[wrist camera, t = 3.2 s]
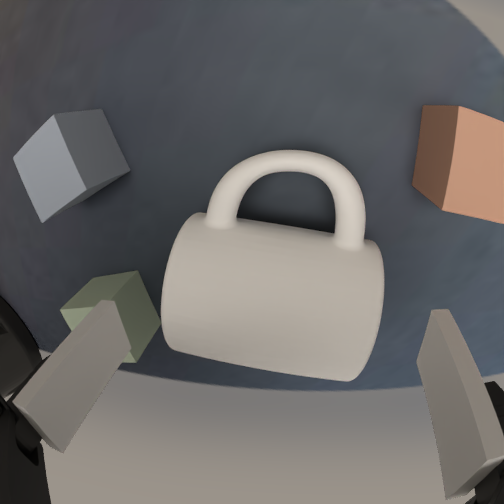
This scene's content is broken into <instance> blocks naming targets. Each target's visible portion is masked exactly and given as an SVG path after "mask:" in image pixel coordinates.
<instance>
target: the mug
mask: <svg viewBox="0 0 504 504" xmlns="http://www.w3.org/2000/svg"><path fill="white" fill-rule="evenodd" d="M282 171H294V172H303V173H308V174H311V175H314V176H316V177H318V178H320V179H321V180H322V181H324V182H325V183H326V185H327V186H328V187H329V189H330V191H331V193H332V196H333V199H334V203H335V212H336V223H335V233H328V232H323V231H317V230H311V229H305V228H299V227H293V226H287V225H280V224H274V223H268V222H262V221H255V220H249V219H242V218H236V216H237V212H238V208H239V205H240V202H241V200H242V198H243V196H244V194H245V192H246V191H247V189H248V188H249V187H250V186H251V184H252V183H254V182H255V181H256V180H257V179H259V178H260V177H262V176H264V175H267V174H270V173H274V172H282ZM365 221H366V215H365V204H364V199H363V195H362V192H361V189H360V187H359V185H358V183H357V181H356V179H355V178H354V177H353V175H352V174H351V173H350V172H349V171H348V170H347V169H346V168H345V167H344V166H343V165H341V164H340V163H339V162H337V161H335V160H334V159H332V158H329V157H327V156H325V155H322V154H318V153H314V152H310V151H302V150H278V151H271V152H266V153H262V154H258V155H255V156H252V157H250V158H248V159H246V160H244V161H242V162H240V163H238V164H237V165H235V166H234V167H233V168H232V169H230V170H229V171H228V172H227V173H226V174H225V175H224V176H223V177H222V179H221V180H220V181H219V183H218V184H217V186H216V188H215V190H214V192H213V194H212V197H211V199H210V202H209V206H208V209H207V213H201V212H200V213H195V214H193V215H192V216H190V217H189V218H188V219H187V221H186V222H185V223H184V224H183V226H182V228H181V229H180V231H179V233H178V235H177V237H176V239H175V242H174V244H173V247H172V250H171V253H170V256H169V259H168V263H167V267H166V271H165V276H164V281H163V288H162V298H161V323H162V330H163V334H164V337H165V340H166V342H167V344H168V345H169V347H170V348H172V349H173V350H175V351H179V352H183V353H187V354H192V355H196V356H200V357H204V358H209V359H213V360H218V361H222V362H227V363H232V364H237V365H242V366H247V367H252V368H258V369H263V370H269V371H275V372H281V373H287V374H294V375H300V376H307V377H315V378H322V379H330V380H339V381H351V380H353V379H354V378H356V377H357V376H358V375H359V374H360V372H361V371H362V370H363V368H364V366H365V365H366V363H367V361H368V359H369V357H370V354H371V352H372V349H373V346H374V343H375V340H376V337H377V333H378V329H379V325H380V320H381V314H382V308H383V299H384V267H383V260H382V256H381V252H380V250H379V248H378V246H377V244H376V243H375V242H374V241H372V240H368V239H364V233H365Z"/></svg>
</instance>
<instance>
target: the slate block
mask: <svg viewBox="0 0 504 504" xmlns="http://www.w3.org/2000/svg"><path fill="white" fill-rule="evenodd" d="M13 159H14V162H15V164H16V167H17V169H18V172H19V174H20V176H21V179H22V181H23V183H24V186H25V188H26V190H27V192H28V195H29V197H30V199H31V201H32V203H33V206H34V208H35V210H36V212H37V214H38V216H39V218H40V220H41V222H42V223H43V222H45V221H47V220H48V219H50V218H52V217H54V216H56V215H57V214H59V213H61V212H63V211H65V210H67V209H68V208H70V207H72V206H74V205H76V204H78V203H80V202H82V201H84V200H86V199H87V198H88V197H90V196H91V195H93V194H94V193H96V192H97V191H99V190H100V189H102V188H104V187H105V186H107V185H108V184H110V183H111V182H113V181H114V180H116V179H118V178H119V177H121V176H122V175H124V174H126V173H127V172H129V171H130V168H129V166H128V164H127V162H126V160H125V158H124V156H123V154H122V152H121V150H120V148H119V145H118V143H117V141H116V139H115V137H114V135H113V133H112V130H111V128H110V126H109V124H108V122H107V119H106V117H105V115H104V113H103V110H102V109H95V110H85V111H76V112H68V113H61V114H54V115H53V116H52V117H51V118H50V119H49V120H48V121H47V122H46V123H45V124H44V125H43V126H42V127H41V128H40V129H39V130H38V131H37V132H36V133H35V134H34V135H33V136H32V137H31V138H30V139H29V140H28V141H27V143H26V144H25V145H24V146H23V147H22V148H21V149H20V150H19V152H18V153H17V154H16V155H15V156H14V157H13Z"/></svg>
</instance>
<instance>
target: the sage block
mask: <svg viewBox="0 0 504 504" xmlns="http://www.w3.org/2000/svg"><path fill="white" fill-rule="evenodd" d="M101 300H109V301H115V304H116V307H117V310H118V313H119V316H120V318H121V321H122V324H123V327H124V329H125V332H126V335H127V337H128V340H129V343H130V345H131V349H130V351H129V352H128V354H127V355H126V357H125V358H124V360H123V361H122V362H126V363H137V361H138V359H139V358H140V356H141V355H142V353H143V351H144V350H145V348H146V347H147V345H148V343H149V342H150V340H151V339H152V337H153V336H154V334H155V332H156V331H157V329H158V328H159V326H160V325H161V321H160V319H159V317H158V314H157V312H156V310H155V308H154V306H153V304H152V302H151V299H150V297H149V295H148V293H147V290H146V288H145V286H144V284H143V281H142V279H141V277H140V274H139V272H138V270H137V271H131V272H125V273H119V274H113V275H107V276H101V277H95V278H92V279H91V280H90V281H89V282H88V283H87V284H86V285H85V286H84V287H83V288H82V289H81V290H80V291H79V292H77V293H76V294H75V295H74V296H73V297H72V298H71V299H70V300H69V301H68V302H67V303H66V304H65V305H64V306H63V307H62V308H61V309H60V311H61V313H62V315H63V317H64V319H65V320H66V322H67V324H68V326H69V327H70V329H71V331H73V330H74V329H75V328H76V326H77V325H78V324H79V323H80V322H81V321H82V320H83V319H84V318H85V317H86V316H87V315H88V314H89V312H90V311H91V310H92V309H93V308H94V307H95V306H96V305H97V304H98V303H99V302H100V301H101Z"/></svg>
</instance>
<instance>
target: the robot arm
mask: <svg viewBox="0 0 504 504" xmlns="http://www.w3.org/2000/svg"><path fill="white" fill-rule="evenodd" d="M130 349H131V345H130V343H129V340H128V337H127V335H126V332H125V329H124V327H123V324H122V321H121V318H120V316H119V313H118V310H117V307H116V304H115V301H109V300H101V301H100V302H99V303H98V304H97V305H96V306H95V307H94V308H93V309H92V310H91V311H90V312H89V314H88V315H87V316H86V317H85V318H84V319H83V320H82V321H81V322H80V323H79V324H78V325H77V326H76V328H75V329H74V330H73V331H72V332H71V333H70V334H69V335H68V336H67V338H66V339H65V340H64V341H63V342H62V343H61V344H60V345H59V346H58V348H57V349H56V350H55V351H54V352H53V353H52V354H51V355H49V356H48V357H46V358H45V359H44V360H42V358H41V354H40V352H39V350H38V347H37V345H36V343H35V341H34V340H33V338H32V336H31V335H30V333H29V331H28V330H27V328H26V327H25V325H24V324H23V323H22V321H21V320H20V318H19V317H18V316H17V315H16V313H15V312H14V311H13V310H12V309H11V307H10V306H9V305H8V304H7V303H6V302H5V301H4V300H3V299H2V298H1V297H0V504H51V500H50V495H49V489H48V483H47V477H46V470H45V462H44V453H43V447H42V445H41V443H40V441H41V439H42V438H43V440H44V441H45V442H46V443H47V444H48V445H49V446H50V447H52V448H54V449H55V450H57V451H59V452H61V453H64V451H65V449H66V448H67V446H68V445H69V443H70V441H71V439H72V438H73V436H74V435H75V433H76V432H77V430H78V428H79V427H80V425H81V424H82V422H83V421H84V419H85V417H86V416H87V414H88V413H89V411H90V410H91V408H92V407H93V405H94V403H95V402H96V400H97V399H98V397H99V396H100V394H101V393H102V391H103V390H104V388H105V387H106V385H107V384H108V382H109V381H110V379H111V378H112V376H113V374H114V373H115V372H116V370H117V369H118V367H119V366H120V364H121V363H122V361H123V360H124V358H125V357H126V355H127V354H128V352H129V351H130ZM416 363H417V366H418V369H419V373H420V377H421V380H422V384H423V388H424V391H425V395H426V399H427V403H428V407H429V411H430V415H431V420H432V424H433V429H434V433H435V438H436V443H437V448H438V453H439V458H440V465H441V470H442V477H443V483H444V491H445V497H446V500H448V499H452V498H456V497H460V496H464V495H467V494H468V493H469V492H470V491H471V490H472V489H473V488H475V494H476V495H475V496H474V497H472V498H471V499H470V500H469V501H467V502H466V503H465V504H504V391H503V390H502V389H501V388H500V387H499V386H498V384H497V383H496V382H495V381H492V382H487V383H484V382H483V380H482V377H481V375H480V373H479V370H478V368H477V366H476V364H475V361H474V359H473V357H472V355H471V353H470V351H469V349H468V346H467V344H466V342H465V340H464V338H463V336H462V334H461V332H460V330H459V328H458V326H457V324H456V322H455V321H454V319H453V317H452V315H451V313H450V311H449V309H440V310H431V314H430V318H429V321H428V325H427V329H426V332H425V335H424V339H423V342H422V345H421V349H420V352H419V355H418V358H417V361H416ZM12 393H14V394H13V395H12V396H11V397H10V398H9V400H8V401H7V402H6V401H5V400H4V398H5V397H7V396H9V395H11V394H12Z"/></svg>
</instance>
